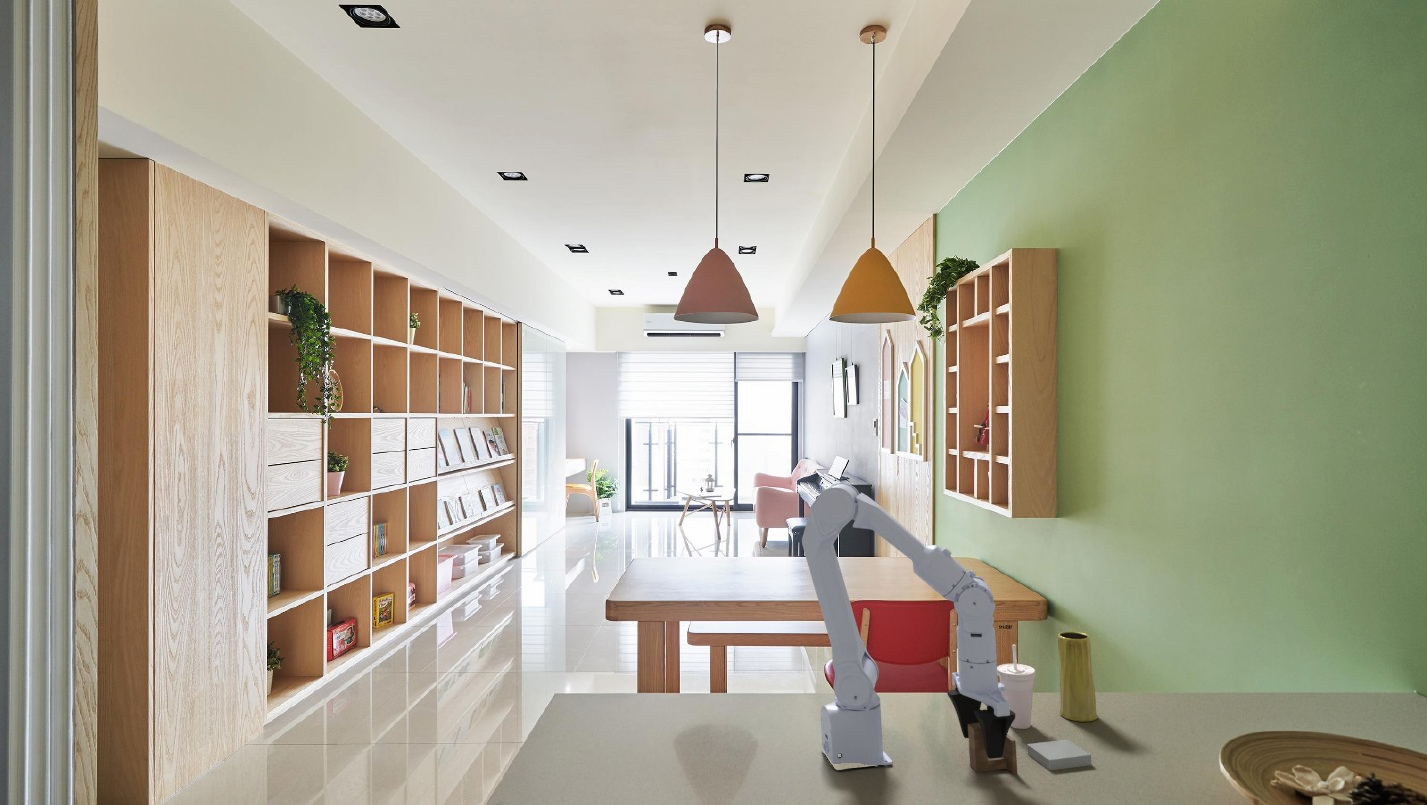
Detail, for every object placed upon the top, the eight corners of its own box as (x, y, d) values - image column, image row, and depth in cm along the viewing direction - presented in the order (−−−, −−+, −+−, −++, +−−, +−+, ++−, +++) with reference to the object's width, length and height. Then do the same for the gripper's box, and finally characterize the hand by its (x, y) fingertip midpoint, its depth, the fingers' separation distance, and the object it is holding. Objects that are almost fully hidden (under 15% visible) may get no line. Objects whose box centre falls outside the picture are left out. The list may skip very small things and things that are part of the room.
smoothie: (997, 728, 132) (992, 647, 132) (1002, 715, 138) (997, 637, 138) (1037, 734, 129) (1032, 650, 129) (1040, 720, 135) (1035, 640, 135)
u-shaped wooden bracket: (982, 777, 114) (980, 733, 114) (964, 760, 120) (961, 719, 120) (1017, 773, 115) (1014, 730, 115) (997, 757, 121) (994, 715, 121)
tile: (1049, 759, 116) (1090, 754, 117) (1027, 744, 122) (1066, 739, 123) (1050, 773, 116) (1091, 767, 117) (1027, 756, 122) (1067, 751, 123)
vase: (1062, 721, 134) (1057, 639, 134) (1057, 708, 140) (1052, 630, 140) (1100, 723, 132) (1095, 640, 133) (1094, 710, 138) (1089, 631, 139)
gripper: (1026, 669, 111) (1032, 763, 111) (978, 643, 126) (983, 726, 125) (981, 674, 110) (987, 769, 110) (938, 646, 125) (943, 730, 124)
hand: (982, 746), depth 118 cm, fingers open, 7 cm apart
